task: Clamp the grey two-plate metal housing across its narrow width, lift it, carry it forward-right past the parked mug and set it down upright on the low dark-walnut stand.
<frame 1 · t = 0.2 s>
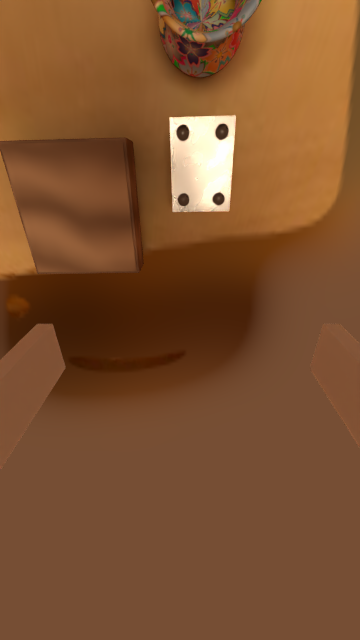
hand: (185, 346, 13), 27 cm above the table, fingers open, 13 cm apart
stand: (87, 210, 35), on the table
housing: (198, 169, 32), on the table
mug: (200, 5, 25), on the table
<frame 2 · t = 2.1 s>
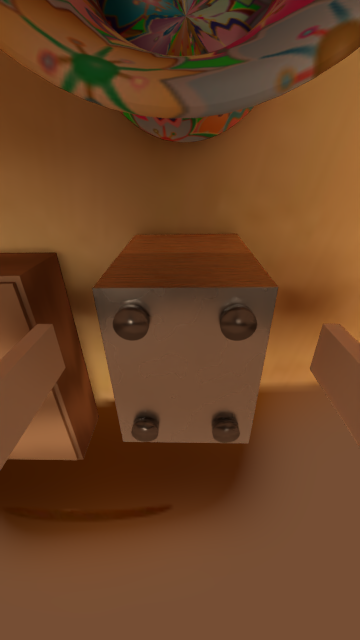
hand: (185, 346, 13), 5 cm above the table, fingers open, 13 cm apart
housing: (185, 295, 17), on the table
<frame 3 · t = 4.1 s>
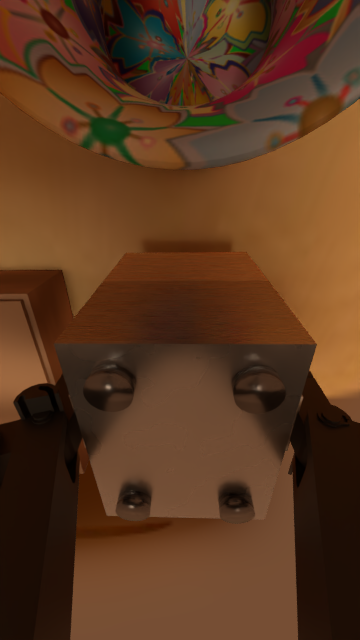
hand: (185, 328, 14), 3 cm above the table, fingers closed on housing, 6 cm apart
housing: (186, 321, 15), point 3 cm above the table, touching gripper
mug: (185, 22, 11), on the table
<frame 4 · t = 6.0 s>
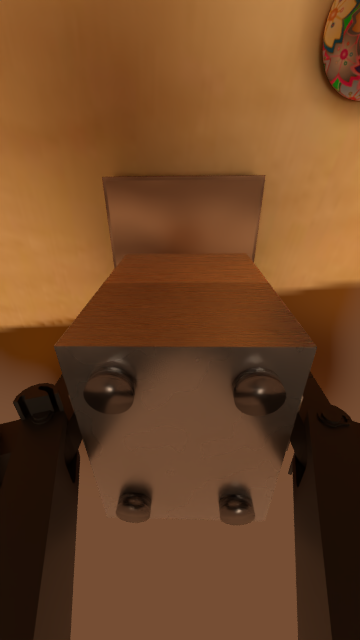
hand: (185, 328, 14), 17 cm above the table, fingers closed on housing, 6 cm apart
stand: (183, 251, 29), on the table
housing: (186, 323, 15), point 16 cm above the table, touching gripper
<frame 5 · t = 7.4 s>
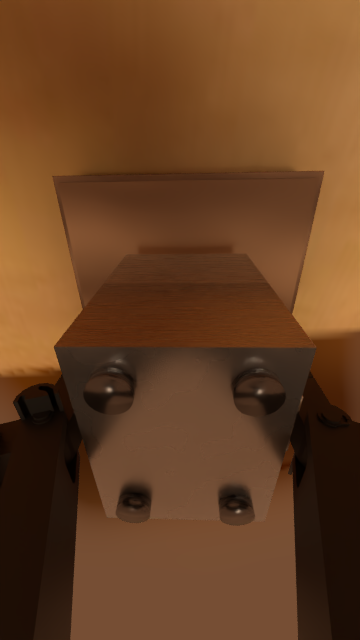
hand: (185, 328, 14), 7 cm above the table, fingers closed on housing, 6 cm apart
stand: (186, 282, 20), on the table
housing: (186, 323, 15), point 6 cm above the table, touching gripper
when the fingers open (5 cm above the table, at t = 8.1 s): housing stays where it is, resting on stand.
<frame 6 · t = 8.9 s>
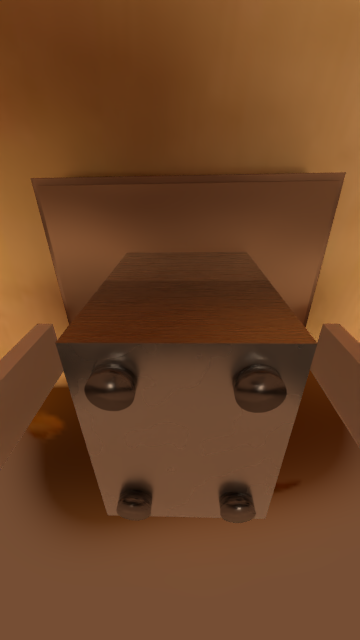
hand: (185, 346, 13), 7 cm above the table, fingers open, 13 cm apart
stand: (186, 294, 19), on the table
housing: (186, 321, 15), point 4 cm above the table, touching stand
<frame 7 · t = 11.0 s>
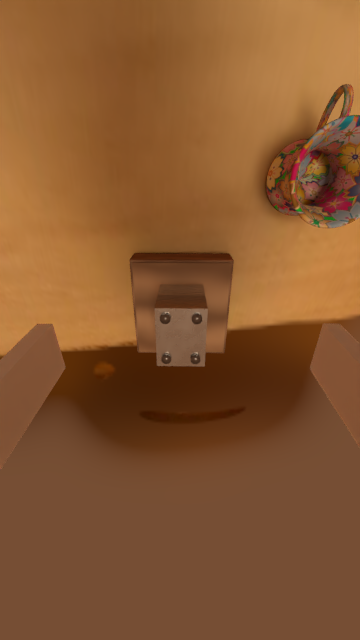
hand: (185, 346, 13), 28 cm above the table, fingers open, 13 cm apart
stand: (181, 300, 42), on the table
housing: (181, 310, 38), point 4 cm above the table, touching stand
mug: (298, 167, 33), on the table
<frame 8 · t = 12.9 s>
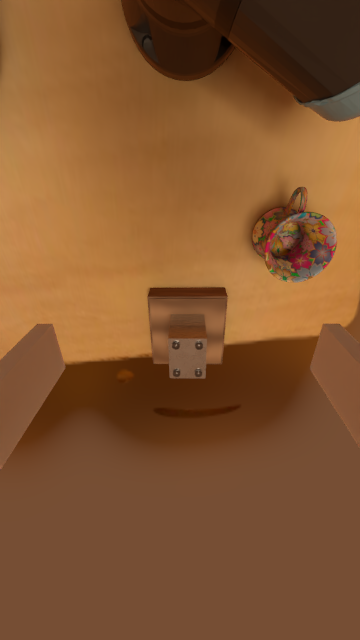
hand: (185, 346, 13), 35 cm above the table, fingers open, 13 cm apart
stand: (187, 322, 52), on the table
housing: (187, 332, 48), point 4 cm above the table, touching stand
mug: (277, 225, 43), on the table
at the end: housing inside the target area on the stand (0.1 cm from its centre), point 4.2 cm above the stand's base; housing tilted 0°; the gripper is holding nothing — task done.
